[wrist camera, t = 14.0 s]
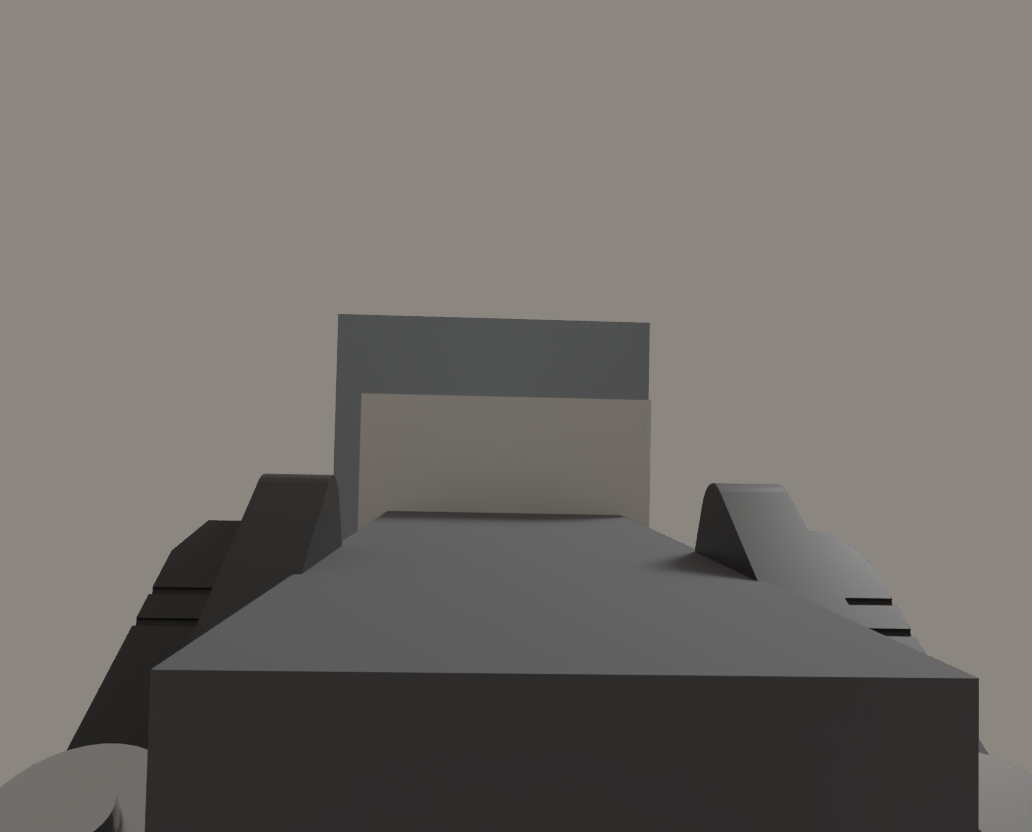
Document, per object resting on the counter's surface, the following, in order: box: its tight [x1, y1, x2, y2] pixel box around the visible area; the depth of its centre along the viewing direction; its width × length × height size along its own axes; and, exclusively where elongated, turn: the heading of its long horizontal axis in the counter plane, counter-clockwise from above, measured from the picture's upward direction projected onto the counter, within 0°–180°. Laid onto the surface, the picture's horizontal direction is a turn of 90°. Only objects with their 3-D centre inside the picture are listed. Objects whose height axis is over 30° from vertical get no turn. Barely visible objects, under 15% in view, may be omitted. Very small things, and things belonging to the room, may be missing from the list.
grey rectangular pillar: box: [334, 314, 650, 541], centre depth 37 cm, size 14×14×32 cm
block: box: [145, 393, 979, 832], centre depth 15 cm, size 21×5×5 cm, turn 2°
